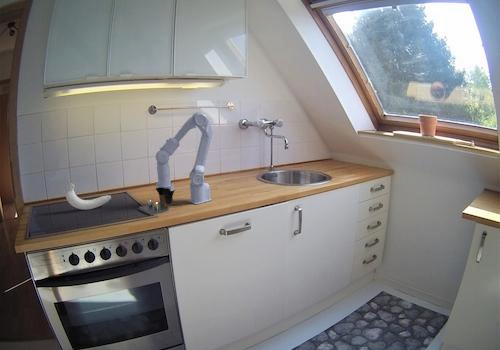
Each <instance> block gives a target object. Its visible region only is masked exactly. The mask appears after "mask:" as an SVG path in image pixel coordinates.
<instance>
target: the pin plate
mask: <svg viewBox="0 0 500 350" xmlns="http://www.w3.org/2000/svg"><path fill="white" fill-rule="evenodd" d="M138 210H139V211H141V212H142V213H145V214H147V215H149V216H154V215H153V214H155V215H158V214H161V212H162V213H164V212H168V211H169V210H170V208H168V207H165V206H162V205H160V203H159V201H154V202H153V199H151V198H149V199H147V204H146V205H142V206H138ZM157 213H158V214H157Z"/></svg>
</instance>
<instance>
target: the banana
mask: <svg viewBox="0 0 500 350" xmlns="http://www.w3.org/2000/svg"><path fill="white" fill-rule="evenodd" d="M69 186H70V188H69V190H68V191H67V192H66V194H65V198H66V200H67V202H68V203H69V205H70V206H71V207H74V208H76V209H78V210H87V211H88V210H93V209H96V208H99V207H100V206H102V205H105V204H106V203H108V202H109V201H110V200H111V199H112V196H111V195H103V196H99V197H97V198H94V199H86V200H85V199H81V198H80V197H79V196H78V195H77V194H76V192H75V190H74V189H75V186H76V185H75V184H73V183H72V182H70V185H69Z"/></svg>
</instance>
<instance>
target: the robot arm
mask: <svg viewBox="0 0 500 350" xmlns="http://www.w3.org/2000/svg"><path fill="white" fill-rule="evenodd" d="M196 128H198V130H199V131H200V132H201V135H200V136H201V137H200V141H199V145H198V149H197V154H196V157H195V158H196V159H195V162H194V165H193V167H192V170H191V171H190V173H189V179H190V180H191V181H190V183H189V191H190V199H188V200H187V202H189V203H191V204H193V205H200V204H203V203H206V202H209V201H212V198H211V197H212V196H211V188H210V185H209V183H208V182H205V165H206V162H207V158H208V153H209V150H210V145H211V142H212V136H213V131H214V130H213V128H212V126H211V122H210V118H209V117H208V116H207V115H206V114H205V113H202V112H195V113H193V114H192V116H191V117H189V118H188V119H187V120H186V121H185V123H184V124H183V125H182V126H181V128H180V129H179V130H178V131H177V132H176V134H175V135H174V137H170V138H167V139H166V140H165V143H164V144H163V145H162V146H161V147H160V148H159V150H158V151H157V152H156V153H155V160H156V171H157V172H156V173H157V180H158V181H155V187H156V188H155V190H156V192H157V193H158V196H159V195H163V194H164V195H165V198H166V203H167V204H170V203H171V202H172V197H173V196H174V194H175V191H176V189H175V186H174V185H173V184H172V182H171V172H170V165H169V160H170V157H171V156H172V155H173V154H174V153H175V152H176V151H177V150H178V148H179V147H180V141H181V140H183V138H184V137H185V136H186V135H187V134H188V132H189V131H190V130H192V129H196Z"/></svg>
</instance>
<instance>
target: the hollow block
mask: <svg viewBox="0 0 500 350" xmlns="http://www.w3.org/2000/svg"><path fill="white" fill-rule="evenodd" d="M158 198H159V199H158V200H159V204H160V205H162V206H165V207H167V208H168V207H171V206H174V198H173V196H172V202H171V203H170V204H167V203H166V198H165V195H164V194H163V195H159V194H158Z"/></svg>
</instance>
